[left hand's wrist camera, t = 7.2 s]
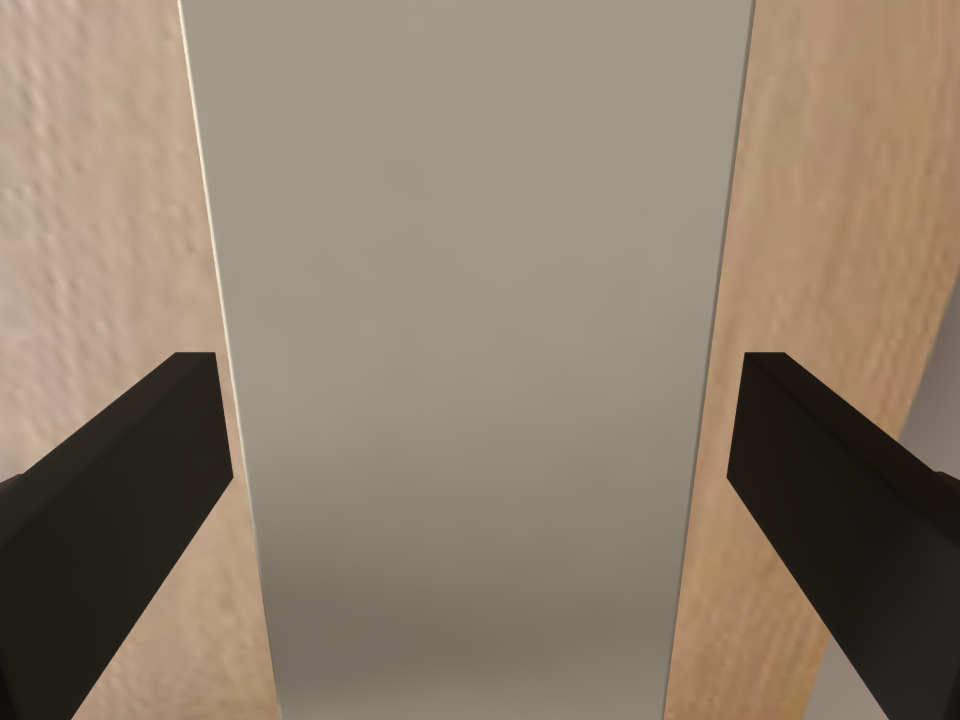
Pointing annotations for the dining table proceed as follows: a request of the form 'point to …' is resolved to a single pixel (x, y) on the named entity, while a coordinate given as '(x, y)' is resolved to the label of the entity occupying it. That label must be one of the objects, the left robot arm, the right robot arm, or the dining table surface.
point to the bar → (469, 335)
